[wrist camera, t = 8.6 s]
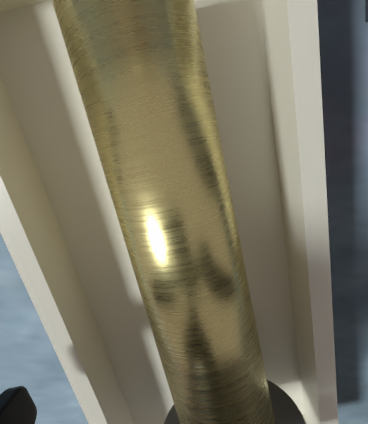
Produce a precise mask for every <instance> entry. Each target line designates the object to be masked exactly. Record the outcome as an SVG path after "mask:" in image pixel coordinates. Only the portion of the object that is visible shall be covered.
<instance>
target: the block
mask: <svg viewBox="0 0 368 424" xmlns="http://www.w3.org/2000/svg"><path fill="white" fill-rule="evenodd" d="M366 22H368V0H366Z"/></svg>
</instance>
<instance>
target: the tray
mask: <svg viewBox="0 0 368 424" xmlns="http://www.w3.org/2000/svg"><path fill="white" fill-rule="evenodd" d="M194 4H195V10H196V15H197V20H198V25H199V30H200V35H201V41H202V46H203V51H204V56H205V61H206V67H207V72H208V77H209V82H210V87H211V93H212V98H213V103H214V108H215V113H216V118H217V124H218V129H219V134H220V139H221V144H222V150H223V155H224V160H225V165H226V170H227V176H228V181H229V186H230V191H231V196H232V201H233V207H234V212H235V217H236V222H237V227H238V233H239V238H240V243H241V248H242V253H243V258H244V264H245V269H246V274H247V279H248V284H249V290H250V295H251V300H252V305H253V310H254V316H255V321H256V326H257V331H258V336H259V341H260V347H261V352H262V357H263V362H264V367H265V373H266V378H267V380H269V381H271V382H273V383H274V384H276V385H277V386H279V387H280V388H281V389H282V390H284V391H285V392H286V393H287V394H288V395H289V396H290V397H291V399H292V400H293V401H294V402H295V404H296V405H297V407H298V408H299V410H300V412H301V414H302V415H303V418H304V420H305V423H306V424H338V407H337V387H336V367H335V347H334V327H333V308H332V288H331V268H330V248H329V228H328V208H327V188H326V168H325V148H324V128H323V109H322V89H321V69H320V49H319V29H318V9H317V0H194ZM0 233H1V235H2V237H3V239H4V241H5V244H6V246H7V248H8V250H9V252H10V254H11V257H12V259H13V261H14V263H15V265H16V267H17V270H18V272H19V274H20V276H21V278H22V280H23V283H24V285H25V287H26V289H27V291H28V293H29V295H30V298H31V300H32V302H33V304H34V306H35V308H36V311H37V313H38V315H39V317H40V319H41V321H42V324H43V326H44V328H45V330H46V332H47V334H48V337H49V339H50V341H51V343H52V345H53V347H54V349H55V352H56V354H57V356H58V358H59V360H60V362H61V365H62V367H63V369H64V371H65V373H66V375H67V378H68V380H69V382H70V384H71V386H72V388H73V391H74V393H75V395H76V397H77V399H78V401H79V403H80V406H81V408H82V410H83V412H84V414H85V416H86V419H87V421H88V423H89V424H164V422H165V419H166V417H167V415H168V413H169V411H170V409H171V408H172V406H173V405H174V402H173V399H172V396H171V392H170V389H169V386H168V382H167V379H166V376H165V373H164V369H163V366H162V363H161V359H160V356H159V353H158V349H157V346H156V343H155V340H154V336H153V333H152V330H151V326H150V323H149V320H148V316H147V313H146V310H145V307H144V303H143V300H142V297H141V293H140V290H139V287H138V283H137V280H136V277H135V274H134V270H133V267H132V264H131V260H130V257H129V254H128V250H127V247H126V244H125V241H124V237H123V234H122V231H121V227H120V224H119V221H118V217H117V214H116V211H115V208H114V204H113V201H112V198H111V194H110V191H109V188H108V184H107V181H106V178H105V175H104V171H103V168H102V165H101V161H100V158H99V155H98V151H97V148H96V145H95V142H94V138H93V135H92V132H91V128H90V125H89V122H88V118H87V115H86V112H85V109H84V105H83V102H82V99H81V95H80V92H79V89H78V85H77V82H76V79H75V76H74V72H73V69H72V66H71V62H70V59H69V56H68V53H67V49H66V46H65V43H64V39H63V36H62V33H61V29H60V26H59V23H58V20H57V16H56V13H55V10H54V6H53V0H0Z"/></svg>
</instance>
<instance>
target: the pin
mask: <svg viewBox="0 0 368 424" xmlns="http://www.w3.org/2000/svg"><path fill="white" fill-rule="evenodd" d="M53 6H54V10H55V13H56V16H57V20H58V23H59V26H60V29H61V33H62V36H63V39H64V43H65V46H66V49H67V53H68V56H69V59H70V62H71V66H72V69H73V72H74V76H75V79H76V82H77V85H78V89H79V92H80V95H81V99H82V102H83V105H84V109H85V112H86V115H87V118H88V122H89V125H90V128H91V132H92V135H93V138H94V142H95V145H96V148H97V151H98V155H99V158H100V161H101V165H102V168H103V171H104V175H105V178H106V181H107V184H108V188H109V191H110V194H111V198H112V201H113V204H114V208H115V211H116V214H117V217H118V221H119V224H120V227H121V231H122V234H123V237H124V241H125V244H126V247H127V250H128V254H129V257H130V260H131V264H132V267H133V270H134V274H135V277H136V280H137V283H138V287H139V290H140V293H141V297H142V300H143V303H144V307H145V310H146V313H147V316H148V320H149V323H150V326H151V330H152V333H153V336H154V340H155V343H156V346H157V349H158V353H159V356H160V359H161V363H162V366H163V369H164V373H165V376H166V379H167V382H168V386H169V389H170V392H171V396H172V399H173V402H174V405H173V406H172V408H171V409H170V411H169V413H168V415H167V417H166V419H165V422H164V424H306V423H305V420H304V418H303V415H302V414H301V412H300V410H299V408H298V407H297V405H296V404H295V402H294V401H293V400H292V399H291V397H290V396H289V395H288V394H287V393H286V392H285V391H284V390H282V389H281V388H280V387H279V386H277V385H276V384H274V383H273V382H271V381H269V380H267V378H266V373H265V367H264V362H263V357H262V352H261V347H260V341H259V336H258V331H257V326H256V321H255V316H254V310H253V305H252V300H251V295H250V290H249V284H248V279H247V274H246V269H245V264H244V258H243V253H242V248H241V243H240V238H239V233H238V227H237V222H236V217H235V212H234V207H233V201H232V196H231V191H230V186H229V181H228V176H227V170H226V165H225V160H224V155H223V150H222V144H221V139H220V134H219V129H218V124H217V118H216V113H215V108H214V103H213V98H212V93H211V87H210V82H209V77H208V72H207V67H206V61H205V56H204V51H203V46H202V41H201V35H200V30H199V25H198V20H197V15H196V10H195V4H194V0H53Z"/></svg>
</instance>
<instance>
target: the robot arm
mask: <svg viewBox="0 0 368 424" xmlns="http://www.w3.org/2000/svg"><path fill="white" fill-rule="evenodd" d="M36 415H37V409H36V406H35V404H34V402H33V400H32V398H31V396H30V395H29V393H28V391H27V389H26V388H25V387H23V386H19V387H14V388H9V389H7V390H5V391H4V392H3V393H2V394H1V395H0V424H35V420H36Z"/></svg>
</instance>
